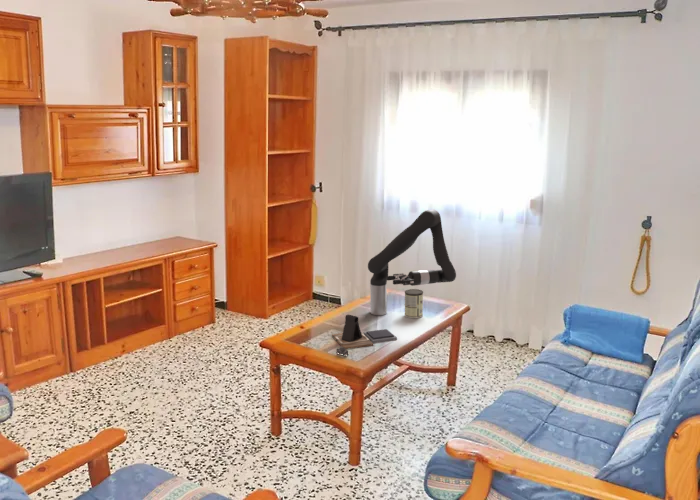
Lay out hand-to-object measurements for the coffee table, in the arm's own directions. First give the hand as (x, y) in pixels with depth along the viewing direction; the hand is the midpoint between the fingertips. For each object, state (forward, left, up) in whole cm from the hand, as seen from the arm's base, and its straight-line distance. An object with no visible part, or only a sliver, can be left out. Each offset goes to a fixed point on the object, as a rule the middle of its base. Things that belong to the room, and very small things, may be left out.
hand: (389, 280), depth 312 cm
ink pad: (+6, -8, -28) cm, 29 cm away
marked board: (+6, -23, -28) cm, 36 cm away
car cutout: (+26, -31, -28) cm, 49 cm away
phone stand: (+6, -23, -27) cm, 36 cm away
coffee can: (-21, +23, -28) cm, 42 cm away
